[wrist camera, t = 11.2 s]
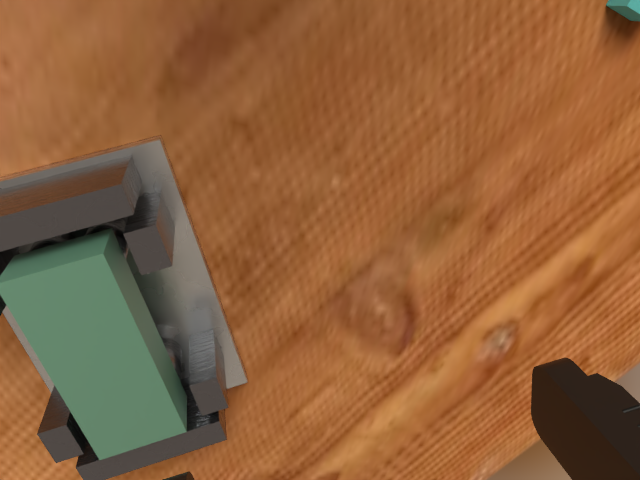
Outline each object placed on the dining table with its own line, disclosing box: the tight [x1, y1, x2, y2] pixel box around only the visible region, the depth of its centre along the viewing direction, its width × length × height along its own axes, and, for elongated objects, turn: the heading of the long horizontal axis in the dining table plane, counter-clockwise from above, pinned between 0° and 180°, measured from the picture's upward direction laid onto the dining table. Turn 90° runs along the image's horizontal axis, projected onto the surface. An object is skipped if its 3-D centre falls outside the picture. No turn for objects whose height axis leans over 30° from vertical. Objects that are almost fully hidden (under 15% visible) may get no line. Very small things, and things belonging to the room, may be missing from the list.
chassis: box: [0, 135, 248, 480], centre depth 30 cm, size 18×12×6 cm, turn 12°
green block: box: [0, 228, 187, 460], centre depth 28 cm, size 12×5×3 cm, turn 12°
